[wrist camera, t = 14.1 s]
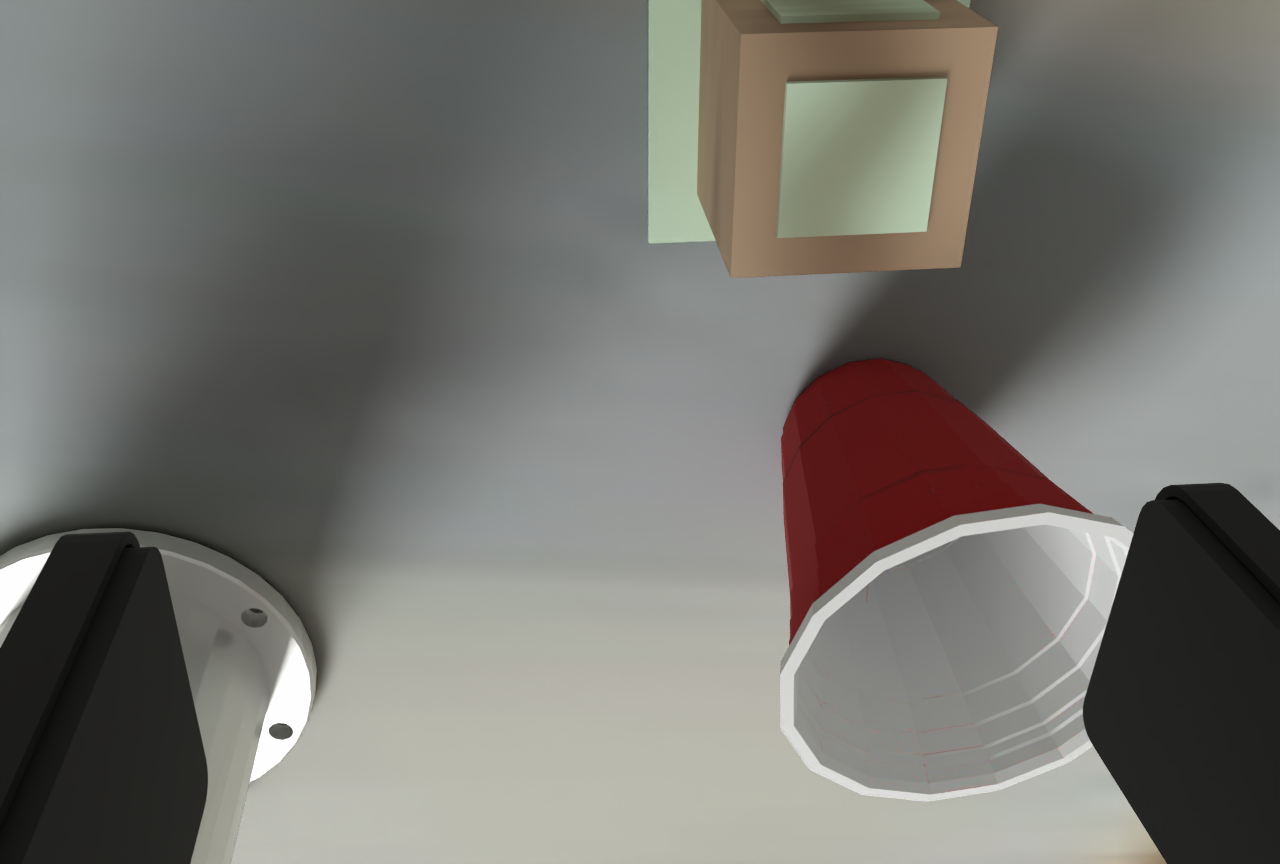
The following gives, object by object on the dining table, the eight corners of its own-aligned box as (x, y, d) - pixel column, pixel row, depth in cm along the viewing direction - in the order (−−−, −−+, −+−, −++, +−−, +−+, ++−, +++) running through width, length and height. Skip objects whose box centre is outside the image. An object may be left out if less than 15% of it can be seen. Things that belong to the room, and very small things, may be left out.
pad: (935, 229, 36) (937, 231, 36) (647, 241, 35) (648, 243, 35) (980, -85, 31) (982, -84, 31) (648, -79, 30) (649, -78, 30)
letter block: (919, -31, 32) (1001, 21, 26) (893, 186, 35) (962, 270, 30) (702, -26, 31) (742, 28, 26) (697, 194, 34) (731, 280, 29)
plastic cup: (748, 593, 43) (823, 865, 33) (671, 350, 37) (735, 589, 27) (1032, 510, 42) (1200, 763, 32) (1000, 250, 37) (1190, 458, 26)
